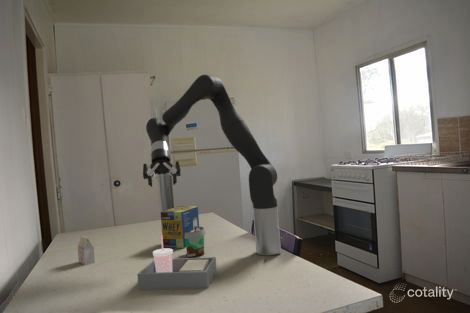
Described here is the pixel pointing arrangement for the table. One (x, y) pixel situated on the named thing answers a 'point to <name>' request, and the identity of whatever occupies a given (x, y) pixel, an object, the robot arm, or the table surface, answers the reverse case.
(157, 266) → the beverage cup
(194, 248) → the food container
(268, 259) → the table surface
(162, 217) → the protein box
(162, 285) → the tray
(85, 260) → the small milk carton
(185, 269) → the beige rectangular block
